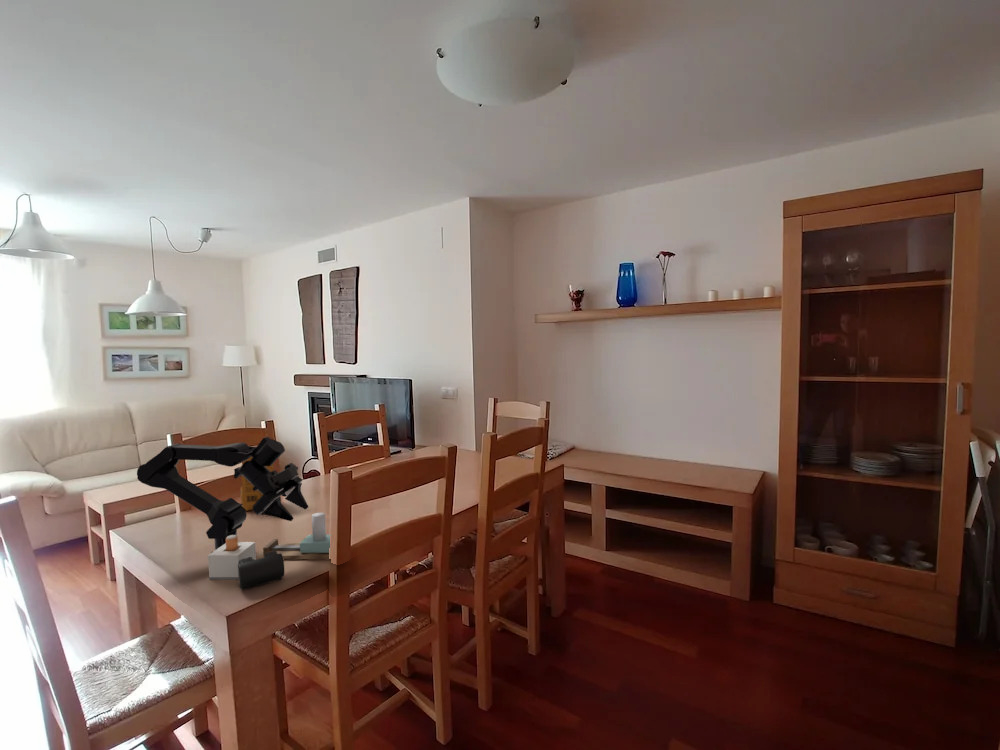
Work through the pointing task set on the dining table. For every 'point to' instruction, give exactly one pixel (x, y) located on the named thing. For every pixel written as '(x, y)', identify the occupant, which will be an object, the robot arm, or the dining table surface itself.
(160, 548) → the dining table surface
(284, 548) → the rail
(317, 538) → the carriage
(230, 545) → the cylinder
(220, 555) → the cabinet
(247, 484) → the coffee package
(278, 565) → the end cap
